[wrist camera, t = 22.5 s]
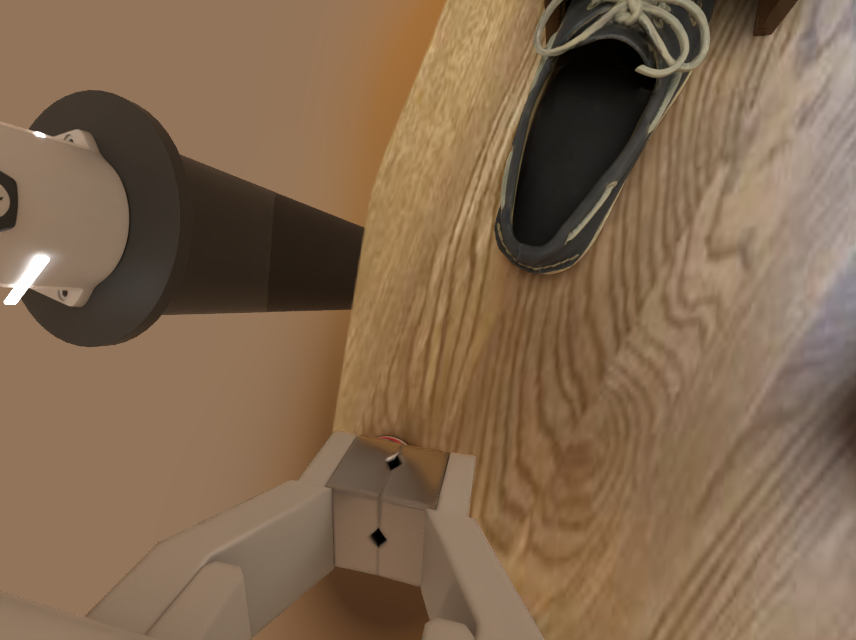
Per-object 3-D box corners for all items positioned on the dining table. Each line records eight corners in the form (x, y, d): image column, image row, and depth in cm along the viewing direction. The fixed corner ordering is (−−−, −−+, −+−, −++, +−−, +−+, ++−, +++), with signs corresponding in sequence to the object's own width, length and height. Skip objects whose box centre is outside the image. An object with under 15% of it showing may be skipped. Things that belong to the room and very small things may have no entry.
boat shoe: (624, -100, 28) (648, -249, 21) (772, -70, 26) (861, -225, 18) (459, 240, 33) (429, 222, 25) (571, 294, 30) (575, 291, 23)
